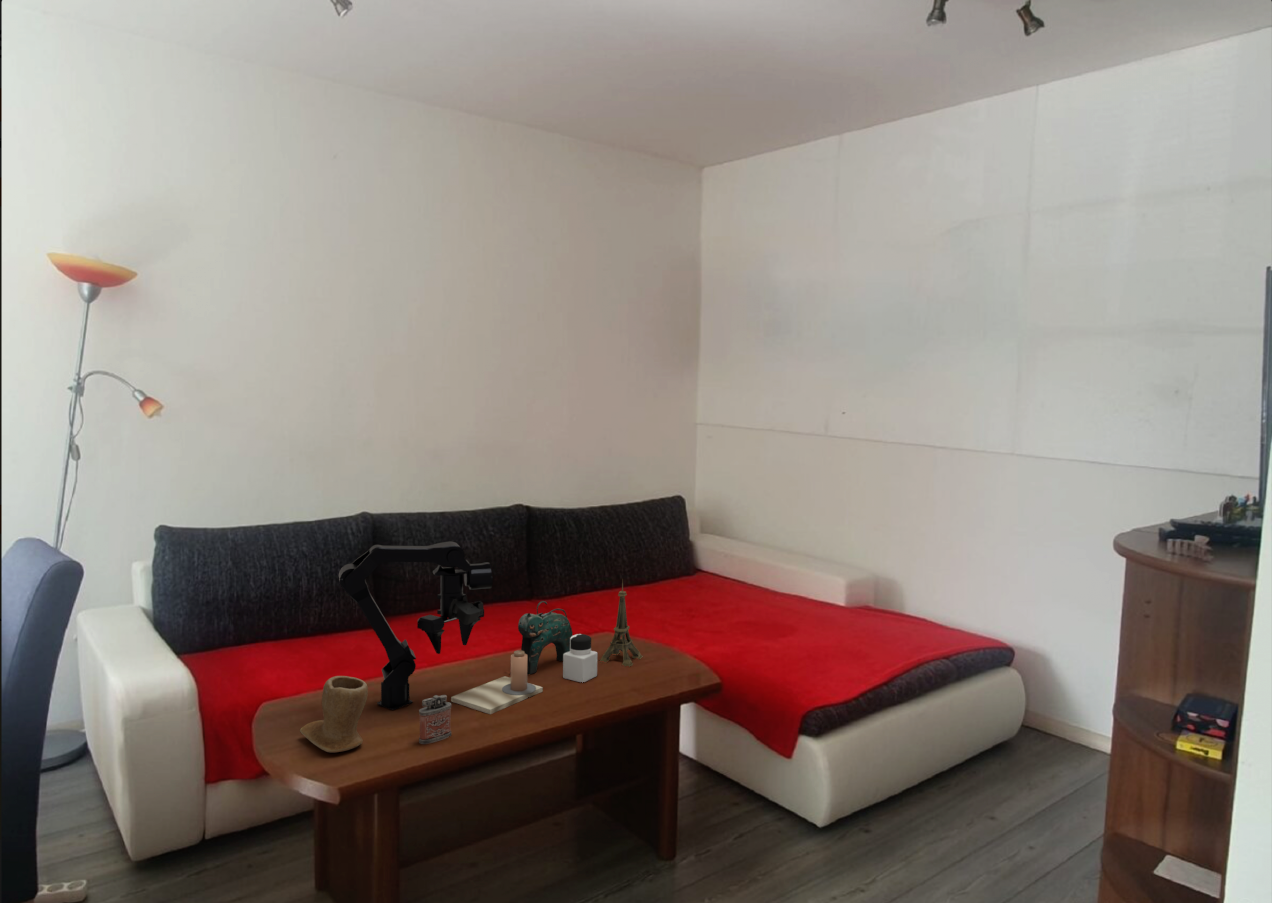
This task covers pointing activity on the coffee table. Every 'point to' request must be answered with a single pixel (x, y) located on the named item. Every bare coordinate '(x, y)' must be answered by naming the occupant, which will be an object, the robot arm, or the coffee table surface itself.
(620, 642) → the eiffel tower
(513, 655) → the pink cylindrical bottle
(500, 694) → the serving board
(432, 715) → the lighter
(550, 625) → the ceramic cat
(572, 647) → the medicine bottle
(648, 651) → the coffee table surface
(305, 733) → the stone cup
